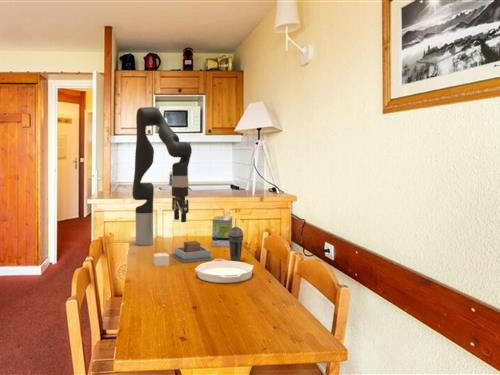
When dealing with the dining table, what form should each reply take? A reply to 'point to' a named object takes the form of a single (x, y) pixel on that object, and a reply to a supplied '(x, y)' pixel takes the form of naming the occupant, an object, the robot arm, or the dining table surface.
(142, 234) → the robot arm
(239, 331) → the dining table surface
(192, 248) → the walnut block
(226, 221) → the tea box
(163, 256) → the cream block
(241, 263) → the pan
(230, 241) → the beverage cup
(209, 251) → the grey shallow box
